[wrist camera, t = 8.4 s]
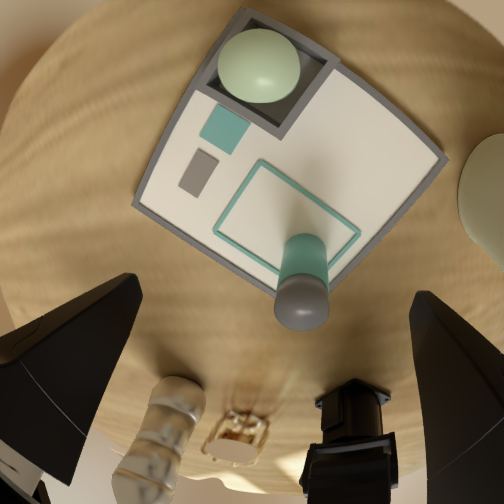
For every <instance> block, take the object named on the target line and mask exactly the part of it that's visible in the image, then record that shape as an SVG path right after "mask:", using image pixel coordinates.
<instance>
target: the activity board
mask: <svg viewBox="0 0 504 504" xmlns="http://www.w3.org/2000/svg"><path fill="white" fill-rule="evenodd" d="M251 29H267V30H271V31H274V32H277V33H279V34H281V35H282V36H284V37H285V38H287V39H288V40H289V41H290V42H291V43H292V45H293V46H294V48H295V49H296V51H297V54H298V57H299V62H300V68H301V77H300V81H299V83H298V86H297V87H296V89H295V90H294V91H293V92H292V93H291V94H290V95H289V96H288V97H286V98H284V99H282V100H280V101H277V102H271V103H253V102H247V101H244V100H241V99H239V98H237V97H235V96H234V95H232V94H231V93H230V92H229V91H228V90H227V89H226V88H225V87H224V85H223V84H222V82H221V80H220V77H219V74H218V59H219V55H220V53H221V51H222V49H223V47H224V46H225V44H226V43H227V42H228V41H229V40H230V39H231V38H233V37H234V36H236V35H237V34H239V33H241V32H244V31H247V30H251ZM340 61H341V59H340V58H339V57H337V56H336V55H334V54H333V53H331V52H330V51H328V50H327V49H325V48H324V47H322V46H320V45H319V44H317V43H316V42H314V41H312V40H311V39H309V38H307V37H306V36H304V35H302V34H301V33H299V32H297V31H295V30H294V29H292V28H290V27H288V26H286V25H285V24H283V23H281V22H279V21H277V20H275V19H273V18H271V17H269V16H267V15H265V14H263V13H261V12H259V11H257V10H255V9H252V8H250V7H248V8H247V10H246V9H244V8H241V7H240V9H239V10H238V11H237V13H236V14H235V15H234V17H233V18H232V20H231V21H230V22H229V24H228V25H227V27H226V28H225V29H224V31H223V32H222V34H221V35H220V37H219V38H218V40H217V41H216V43H215V44H214V46H213V47H212V49H211V50H210V52H209V53H208V55H207V56H206V58H205V60H204V61H203V63H202V64H201V66H200V68H199V69H198V71H197V73H196V74H195V76H194V78H193V79H192V81H191V83H190V84H189V86H188V88H187V90H186V91H185V93H184V95H183V97H182V98H181V100H180V102H179V104H178V106H177V108H176V109H175V111H174V113H173V115H172V117H171V119H170V121H169V123H168V125H167V127H166V128H165V130H164V132H163V134H162V136H161V138H160V141H159V143H158V145H157V147H156V149H155V151H154V153H153V155H152V157H151V159H150V162H149V164H148V166H147V168H146V171H145V173H144V175H143V177H142V180H141V182H140V184H139V187H138V189H137V191H136V194H135V196H134V199H133V201H132V204H131V206H133V207H134V208H136V209H137V210H139V211H140V212H142V213H143V214H145V215H146V216H148V217H149V218H151V219H152V220H154V221H155V222H157V223H158V224H160V225H161V226H163V227H164V228H166V229H167V230H169V231H170V232H172V233H173V234H175V235H176V236H178V237H179V238H181V239H182V240H184V241H185V242H187V243H189V244H190V245H192V246H193V247H195V248H196V249H198V250H199V251H201V252H202V253H204V254H205V255H207V256H209V257H210V258H212V259H213V260H215V261H216V262H218V263H219V264H221V265H223V266H224V267H226V268H227V269H229V270H230V271H232V272H234V273H235V274H237V275H238V276H240V277H241V278H243V279H245V280H246V281H248V282H249V283H251V284H253V285H254V286H256V287H257V288H259V289H261V290H262V291H264V292H265V293H267V294H269V295H270V296H272V297H273V298H275V299H276V289H277V284H278V278H279V273H280V267H281V262H282V256H283V251H284V246H285V244H286V242H287V241H288V240H289V239H290V238H291V237H293V236H295V235H297V234H302V233H308V234H312V235H315V236H317V237H318V238H320V239H321V240H322V241H323V243H324V245H325V247H326V252H327V265H328V279H329V293H330V292H331V291H332V290H333V289H334V288H335V287H336V286H337V285H338V284H339V283H340V282H341V281H342V280H343V279H344V278H345V277H346V276H347V275H348V274H349V273H350V272H351V271H352V270H353V269H354V268H355V267H356V266H357V265H358V264H359V263H360V262H361V261H362V260H363V259H364V258H365V257H366V256H367V255H368V254H369V253H370V252H371V250H372V249H373V248H374V247H375V246H376V245H377V244H378V243H379V242H380V241H381V240H382V239H383V238H384V237H385V235H386V234H387V233H388V232H389V231H390V230H391V229H392V228H393V227H394V226H395V224H396V223H397V222H398V221H399V220H400V219H401V218H402V217H403V215H404V214H405V213H406V212H407V211H408V210H409V209H410V207H411V206H412V205H413V204H414V203H415V202H416V200H417V199H418V198H419V197H420V196H421V194H422V193H423V192H424V191H425V190H426V188H427V187H428V186H429V185H430V184H431V182H432V181H433V180H434V179H435V177H436V176H437V175H438V174H439V173H440V171H441V170H442V169H443V167H444V166H445V165H446V164H447V162H448V161H449V159H448V158H447V156H446V155H445V154H444V153H443V152H442V151H441V150H440V149H439V148H438V147H437V146H436V145H435V144H434V142H433V141H432V140H431V139H430V138H429V137H428V136H427V135H426V134H425V133H424V132H423V131H422V130H421V129H420V128H419V127H418V126H416V125H415V124H414V123H413V122H412V121H411V120H410V119H409V118H408V117H407V116H406V115H405V114H404V113H403V112H401V111H400V110H399V109H398V108H397V107H396V106H395V105H393V104H392V103H391V102H390V101H389V100H388V99H386V98H385V97H384V96H383V95H382V94H380V93H379V92H378V91H377V90H376V89H374V88H373V87H372V86H371V85H369V84H368V83H367V82H365V81H364V80H363V79H361V78H360V77H359V76H357V75H356V74H355V73H353V72H352V71H351V70H349V69H348V68H347V67H345V66H344V65H342V64H341V63H339V62H340Z"/></svg>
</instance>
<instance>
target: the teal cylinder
mask: <svg viewBox="0 0 504 504" xmlns="http://www.w3.org/2000/svg"><path fill="white" fill-rule="evenodd" d="M274 314H275V317H276V319H277V320H278V321H279V322H280V323H281V324H282V325H283V326H285V327H287V328H289V329H291V330H296V331H309V330H313V329H315V328H317V327H319V326H321V325H322V324H323V323H324V322H325V321H326V319H327V318H328V315H329V279H328V265H327V252H326V247H325V245H324V243H323V241H322V240H321V239H320V238H318V237H317V236H315V235H312V234H308V233H302V234H297V235H295V236H293V237H291V238H290V239H289V240H288V241H287V242H286V244H285V246H284V251H283V256H282V262H281V267H280V273H279V278H278V284H277V289H276V299H275V304H274Z"/></svg>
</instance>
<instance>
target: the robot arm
mask: <svg viewBox="0 0 504 504" xmlns="http://www.w3.org/2000/svg"><path fill="white" fill-rule="evenodd" d="M142 298H143V294H142V290H141V287H140V283H139V280H138V277H137V275H136V274H134V273H123V274H121V275H119V276H117V277H115V278H113V279H111V280H109V281H107V282H105V283H103V284H101V285H99V286H97V287H95V288H94V289H92V290H90V291H88V292H86V293H84V294H82V295H80V296H78V297H76V298H74V299H72V300H70V301H69V302H67V303H65V304H63V305H61V306H59V307H57V308H55V309H54V310H52V311H50V312H48V313H46V314H44V316H41V317H39V318H37V319H35V320H33V321H31V322H29V323H28V324H26V325H24V326H22V327H20V328H18V329H16V330H14V331H12V332H10V333H7V334H5V335H3V336H1V337H0V504H51V502H50V499H49V496H48V493H47V490H46V487H45V483H44V482H43V481H42V480H41V479H40V478H41V476H42V474H43V472H45V473H47V474H49V475H50V476H52V477H53V478H55V479H57V480H59V481H60V482H62V483H63V484H65V485H67V486H70V484H71V482H72V478H73V475H74V472H75V469H76V466H77V463H78V460H79V458H80V455H81V452H82V449H83V446H84V443H85V441H86V438H87V437H86V436H87V435H88V432H89V430H90V427H91V424H92V422H93V419H94V417H95V414H96V412H97V409H98V407H99V404H100V402H101V399H102V397H103V394H104V392H105V390H106V387H107V385H108V382H109V380H110V378H111V375H112V373H113V371H114V369H115V366H116V364H117V362H118V360H119V357H120V355H121V353H122V351H123V348H124V346H125V344H126V342H127V340H128V337H129V335H130V332H131V330H132V327H133V324H134V321H135V318H136V315H137V313H138V310H139V307H140V304H141V302H142ZM409 321H410V330H411V339H412V350H413V359H414V365H415V371H416V377H417V382H418V389H419V395H420V402H421V409H422V417H423V426H424V436H425V448H426V464H427V479H428V480H427V504H504V354H503V353H501V352H500V351H499V350H498V349H497V348H496V347H495V346H494V345H493V344H492V343H491V342H489V341H488V340H487V339H486V338H485V337H484V336H483V335H482V334H481V333H479V332H478V331H477V330H476V329H475V328H474V327H473V326H471V325H470V324H469V323H468V322H467V321H466V320H464V319H463V318H462V317H461V316H460V315H459V314H457V313H456V312H455V311H454V310H453V309H451V308H450V307H449V306H448V305H446V304H445V303H444V302H443V301H442V300H440V299H439V298H438V297H437V296H435V295H434V294H433V293H432V292H430V291H425V290H419V291H417V293H416V294H415V297H414V300H413V303H412V306H411V309H410V312H409ZM390 400H391V396H390V395H389V394H387V393H385V392H383V391H381V390H379V389H377V388H374V387H372V386H370V385H368V384H366V383H364V382H362V381H360V380H358V379H353V380H351V381H349V382H348V383H346V384H345V385H343V386H341V387H340V388H338V389H337V390H335V391H333V392H332V393H330V394H328V395H327V396H325V397H323V398H322V399H320V400H318V401H317V402H315V407H316V408H319V409H321V410H322V418H321V431H323V442H322V443H321V444H316V443H312V444H310V448H309V450H308V452H307V457H306V461H305V465H304V469H303V473H302V475H301V477H300V480H299V484H300V485H301V486H302V488H303V493H304V496H305V497H306V498H308V499H307V504H390V502H391V489H394V488H397V487H398V459H397V449H396V440H395V432H390V433H389V434H384V435H383V424H382V413H381V405H383V404H385V403H386V402H388V401H390Z"/></svg>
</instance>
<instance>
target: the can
mask: <svg viewBox="0 0 504 504" xmlns="http://www.w3.org/2000/svg"><path fill="white" fill-rule="evenodd" d="M458 210H459V215H460V219H461V222H462V225H463V227H464V229H465V231H466V233H467V234H468V235H469V237H470V238H471V239H472V240H473V241H474V242H475V243H477V244H478V245H480V246H481V247H482V248H483V249H484V250H485V251H486V253H487V254H488V255H489V256H490V257H491V258H492V259H493V261H494V262H495V263H496V264H497V265H498V267H499V268H500V269H501V270H502V271H503V273H504V133H501V134H495V135H492V136H490V137H488V138H486V139H484V140H483V141H482V142H481V143H480V144H478V145H477V146H476V148H475V149H474V150H473V151H472V153H471V154H470V156H469V158H468V159H467V161H466V163H465V166H464V168H463V171H462V174H461V177H460V182H459V188H458Z"/></svg>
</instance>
